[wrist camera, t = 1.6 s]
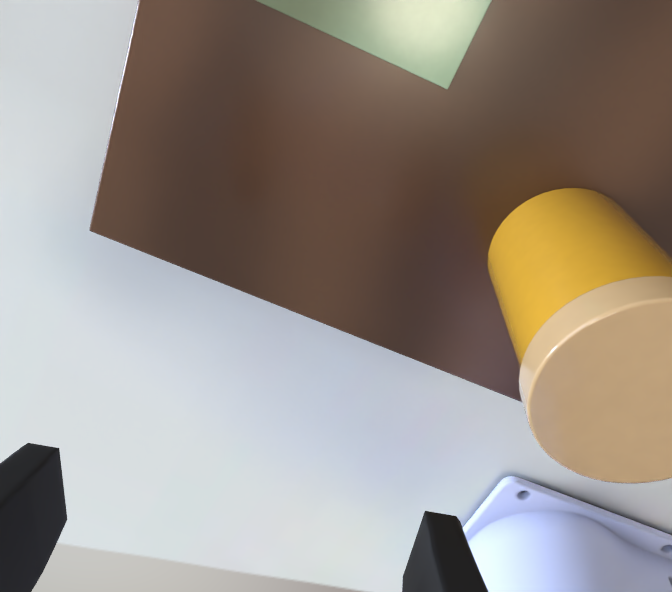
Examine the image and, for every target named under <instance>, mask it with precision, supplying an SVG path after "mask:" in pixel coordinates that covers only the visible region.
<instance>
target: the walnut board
mask: <svg viewBox="0 0 672 592" xmlns="http://www.w3.org/2000/svg"><path fill="white" fill-rule="evenodd" d="M564 188H581V189H588V190H592V191H596V192H599V193H601V194H604V195H606V196H608V197H609V198H611V199H613V200H614V201H615V202H617V203H618V204H619V205H620V206H621V207H622V208H623V209H624V210H625V211H626V212H627V213H628V214H629V215H630V216H631V217H632V218H633V219H634V220H635V221H636V222H637V223H638V224H639V225H640V226H641V227H642V228H643V229H644V230H645V231H646V232H647V233H648V234H649V235H650V236H651V237H652V238H653V239H654V240H655V241H656V242H657V243H658V244H659V245H660V246H661V247H662V248H663V249H664V250H665V251H666V252H667V253H668V254H669V255H670V256H671V257H672V0H139V1H138V5H137V10H136V15H135V19H134V24H133V29H132V33H131V38H130V43H129V47H128V52H127V56H126V61H125V66H124V70H123V75H122V80H121V84H120V89H119V94H118V98H117V103H116V108H115V112H114V117H113V122H112V126H111V131H110V136H109V140H108V145H107V150H106V154H105V159H104V164H103V168H102V173H101V178H100V182H99V187H98V192H97V196H96V201H95V206H94V210H93V215H92V220H91V224H90V231H92V232H94V233H97V234H99V235H102V236H104V237H107V238H109V239H112V240H114V241H117V242H119V243H122V244H124V245H127V246H129V247H132V248H135V249H137V250H140V251H142V252H145V253H147V254H150V255H152V256H155V257H157V258H160V259H162V260H165V261H167V262H170V263H172V264H175V265H177V266H180V267H182V268H185V269H188V270H190V271H193V272H195V273H198V274H200V275H203V276H205V277H208V278H210V279H213V280H215V281H218V282H220V283H223V284H225V285H228V286H230V287H233V288H235V289H238V290H241V291H243V292H246V293H248V294H251V295H253V296H256V297H258V298H261V299H263V300H266V301H268V302H271V303H273V304H276V305H278V306H281V307H283V308H286V309H288V310H291V311H293V312H296V313H299V314H301V315H304V316H306V317H309V318H311V319H314V320H316V321H319V322H321V323H324V324H326V325H329V326H331V327H334V328H336V329H339V330H341V331H344V332H346V333H349V334H352V335H354V336H357V337H359V338H362V339H364V340H367V341H369V342H372V343H374V344H377V345H379V346H382V347H384V348H387V349H389V350H392V351H394V352H397V353H399V354H402V355H405V356H407V357H410V358H412V359H415V360H417V361H420V362H422V363H425V364H427V365H430V366H432V367H435V368H437V369H440V370H442V371H445V372H447V373H450V374H452V375H455V376H458V377H460V378H463V379H465V380H468V381H470V382H473V383H475V384H478V385H480V386H483V387H485V388H488V389H490V390H493V391H495V392H498V393H500V394H503V395H505V396H508V397H511V398H513V399H516V400H518V401H521V402H522V400H521V395H520V391H519V375H520V366H519V363H518V360H517V357H516V354H515V351H514V348H513V345H512V342H511V339H510V336H509V333H508V330H507V327H506V324H505V321H504V318H503V315H502V312H501V309H500V306H499V303H498V300H497V297H496V294H495V291H494V288H493V285H492V282H491V279H490V276H489V271H488V253H489V248H490V245H491V242H492V239H493V237H494V235H495V233H496V231H497V229H498V228H499V226H500V225H501V223H502V222H503V221H504V220H505V218H506V217H507V216H508V215H509V214H510V213H511V212H512V211H513V210H515V209H516V208H517V207H518V206H520V205H521V204H523V203H524V202H525V201H527V200H529V199H531V198H533V197H535V196H537V195H540V194H542V193H545V192H549V191H552V190H557V189H564Z"/></svg>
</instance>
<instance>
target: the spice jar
mask: <svg viewBox="0 0 672 592" xmlns="http://www.w3.org/2000/svg"><path fill="white" fill-rule="evenodd" d="M488 271H489V276H490V279H491V282H492V285H493V288H494V291H495V294H496V297H497V300H498V303H499V306H500V309H501V312H502V315H503V318H504V321H505V324H506V327H507V330H508V333H509V336H510V339H511V342H512V345H513V348H514V351H515V354H516V357H517V360H518V363H519V366H520V375H519V391H520V395H521V400H522V403H523V407H524V410H525V413H526V416H527V419H528V422H529V426H530V428H531V431H532V433H533V435H534V437H535V439H536V440H537V442H538V444H539V445H540V446H541V448H542V449H543V450H544V451H545V452H546V453H547V454H548V455H549V456H550V457H551V458H552V459H554V460H555V461H556V462H557V463H559V464H560V465H562V466H564V467H565V468H567V469H568V470H571V471H573V472H575V473H577V474H579V475H582V476H585V477H588V478H592V479H596V480H601V481H605V482H614V483H645V482H654V481H660V480H665V479H669V478H672V257H671V256H670V255H669V254H668V253H667V252H666V251H665V250H664V249H663V248H662V247H661V246H660V245H659V244H658V243H657V242H656V241H655V240H654V239H653V238H652V237H651V236H650V235H649V234H648V233H647V232H646V231H645V230H644V229H643V228H642V227H641V226H640V225H639V224H638V223H637V222H636V221H635V220H634V219H633V218H632V217H631V216H630V215H629V214H628V213H627V212H626V211H625V210H624V209H623V208H622V207H621V206H620V205H619V204H618V203H617V202H615V201H614V200H613V199H611V198H609V197H608V196H606V195H604V194H601V193H599V192H596V191H592V190H588V189H581V188H564V189H557V190H552V191H549V192H545V193H542V194H540V195H537V196H535V197H533V198H531V199H529V200H527V201H525V202H524V203H523V204H521V205H520V206H518V207H517V208H516V209H515V210H513V211H512V212H511V213H510V214H509V215H508V216H507V217H506V218H505V220H504V221H503V222H502V223H501V225H500V226H499V228H498V229H497V231H496V233H495V235H494V237H493V239H492V242H491V245H490V248H489V253H488Z"/></svg>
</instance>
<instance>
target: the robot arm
mask: <svg viewBox="0 0 672 592" xmlns="http://www.w3.org/2000/svg"><path fill="white" fill-rule="evenodd" d="M520 491H525V492H520ZM66 521H67V514H66V505H65V496H64V487H63V479H62V470H61V461H60V453H59V448H54V447H49V446H43V445H37V444H31V443H27V444H26V445H24V446H23V447H21V448H20V449H19V450H17V451H16V452H15V453H13V454H12V455H11V456H9V457H8V458H7V459H5V460H4V461H3V462H1V463H0V592H31V591H32V589H33V588H34V586H35V584H36V583H37V581H38V579H39V577H40V575H41V574H42V572H43V570H44V568H45V566H46V564H47V562H48V560H49V558H50V555H51V554H52V551H53V550H54V547H55V545H56V543H57V541H58V539H59V536H60V534H61V532H62V530H63V527H64V525H65V523H66ZM402 592H672V535H670V534H667V533H665V532H662V531H659V530H657V529H654V528H652V527H649V526H646V525H644V524H641V523H638V522H636V521H633V520H630V519H628V518H625V517H622V516H620V515H617V514H614V513H612V512H609V511H606V510H604V509H601V508H599V507H596V506H593V505H591V504H588V503H585V502H583V501H580V500H577V499H575V498H572V497H569V496H567V495H564V494H561V493H559V492H556V491H553V490H551V489H548V488H546V487H543V486H540V485H538V484H535V483H532V482H530V481H527V480H524V479H522V478H519V477H515V476H508V477H506V478H504V479H502V480H501V481H500V483H499V484H498V485H497V486H496V487H495V489H494V490H493V491H492V492H491V494H490V495H489V496H488V497H487V498H486V500H485V501H484V502H483V503H482V505H481V506H480V507H479V508H478V510H477V511H476V512H475V513H474V514H473V516H472V517H471V518H470V519H469V521H468V522H467V523H466V524H465V525H464V527H463V528H462V526H461V523H460V521H459V520H458V518H457V517H456V516H451V515H446V514H440V513H434V512H428V511H425V513H424V516H423V519H422V522H421V525H420V528H419V531H418V534H417V537H416V539H415V542H414V545H413V548H412V551H411V554H410V557H409V560H408V563H407V566H406V569H405V572H404V575H403V590H402Z"/></svg>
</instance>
